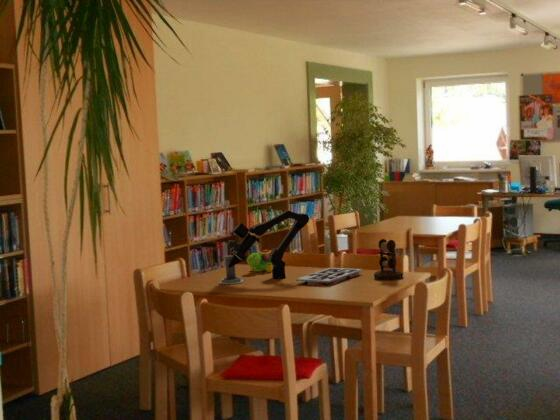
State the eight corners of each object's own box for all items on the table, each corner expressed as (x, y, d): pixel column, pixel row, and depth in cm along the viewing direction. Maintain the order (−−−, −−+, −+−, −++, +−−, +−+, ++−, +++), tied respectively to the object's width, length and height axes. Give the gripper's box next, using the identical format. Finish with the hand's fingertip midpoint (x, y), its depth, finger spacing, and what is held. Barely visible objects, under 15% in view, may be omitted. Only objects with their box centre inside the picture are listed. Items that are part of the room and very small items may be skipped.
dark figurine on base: (409, 277, 402) (407, 238, 401) (386, 281, 395) (384, 242, 393) (390, 274, 415) (388, 236, 413) (368, 278, 407) (366, 240, 406)
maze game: (330, 273, 431) (330, 267, 431) (362, 275, 420) (362, 269, 420) (296, 285, 402) (295, 279, 402) (329, 287, 391) (328, 280, 391)
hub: (243, 279, 427) (243, 275, 427) (243, 283, 414) (243, 279, 414) (219, 281, 426) (219, 277, 426) (218, 285, 413) (218, 281, 413)
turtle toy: (239, 273, 448) (237, 253, 447) (265, 267, 466) (264, 247, 465) (261, 275, 438) (260, 254, 437) (287, 268, 456) (286, 248, 455)
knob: (237, 277, 421) (235, 254, 420) (233, 279, 416) (232, 256, 415) (228, 277, 423) (227, 255, 422) (224, 279, 418) (223, 256, 417)
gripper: (232, 232, 428) (213, 254, 426) (238, 236, 410) (219, 259, 408) (247, 245, 430) (229, 267, 429) (254, 249, 412) (235, 272, 411)
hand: (227, 266), depth 419 cm, fingers closed on knob, 5 cm apart
